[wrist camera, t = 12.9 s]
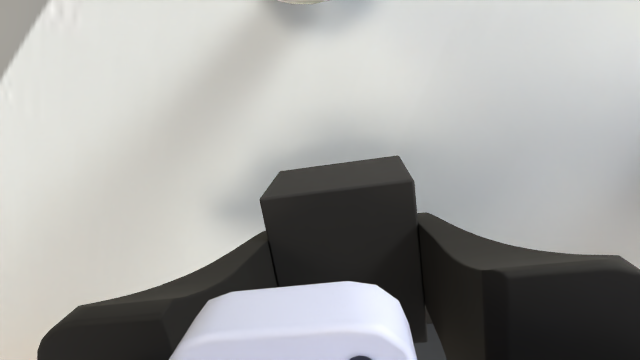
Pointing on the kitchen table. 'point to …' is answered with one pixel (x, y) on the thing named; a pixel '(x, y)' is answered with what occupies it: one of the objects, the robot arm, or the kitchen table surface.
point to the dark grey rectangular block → (349, 230)
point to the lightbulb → (302, 1)
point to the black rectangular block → (430, 346)
